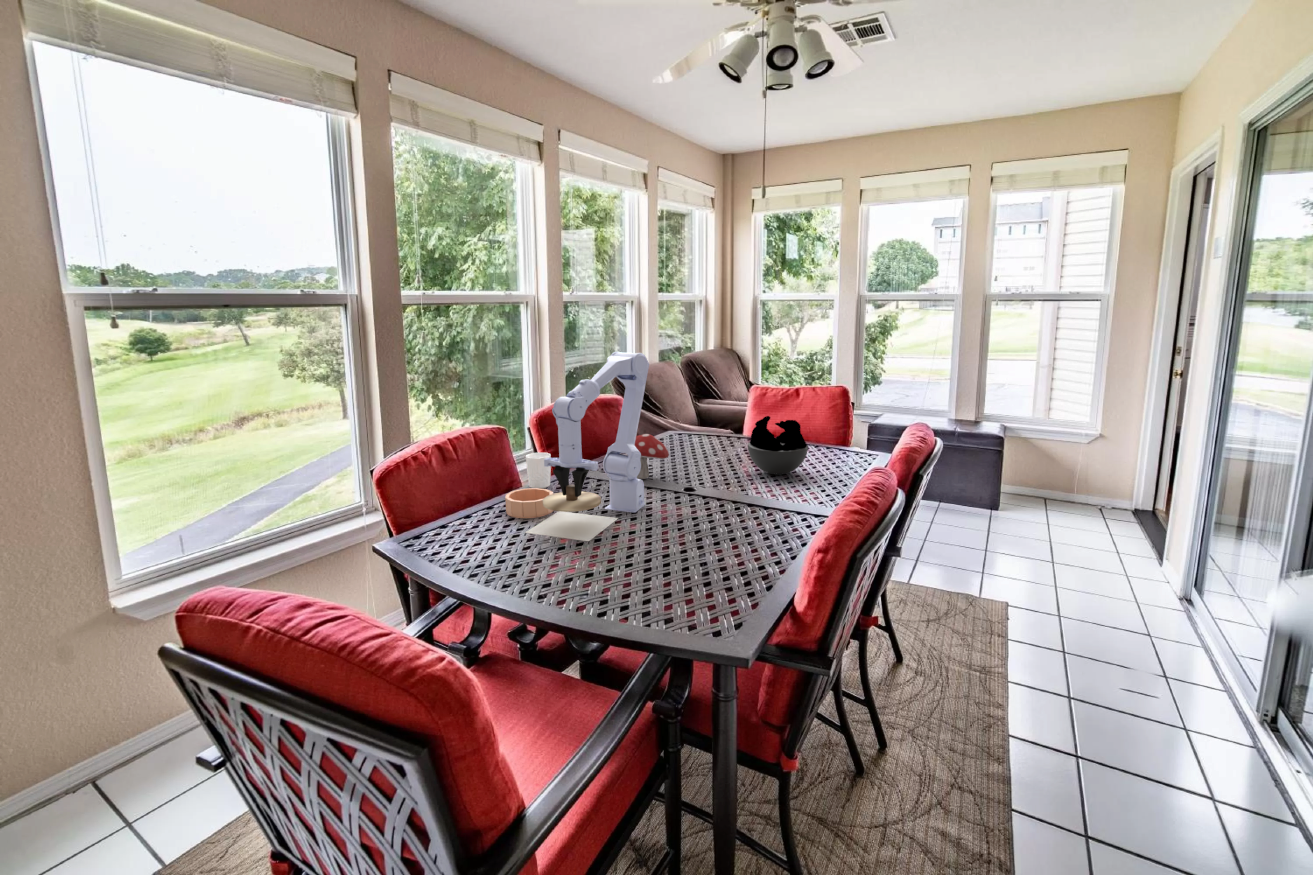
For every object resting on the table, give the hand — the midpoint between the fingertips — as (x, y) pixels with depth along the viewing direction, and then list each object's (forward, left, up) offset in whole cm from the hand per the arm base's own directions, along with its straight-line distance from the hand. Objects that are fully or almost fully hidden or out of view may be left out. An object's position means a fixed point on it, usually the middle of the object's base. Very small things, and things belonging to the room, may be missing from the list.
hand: (572, 494), depth 169 cm
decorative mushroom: (-1, -50, -9) cm, 51 cm away
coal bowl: (-41, -70, -9) cm, 82 cm away
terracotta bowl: (+17, -7, -9) cm, 20 cm away
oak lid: (0, 0, -2) cm, 2 cm away
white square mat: (0, 0, -9) cm, 9 cm away
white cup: (+28, -31, -9) cm, 43 cm away
